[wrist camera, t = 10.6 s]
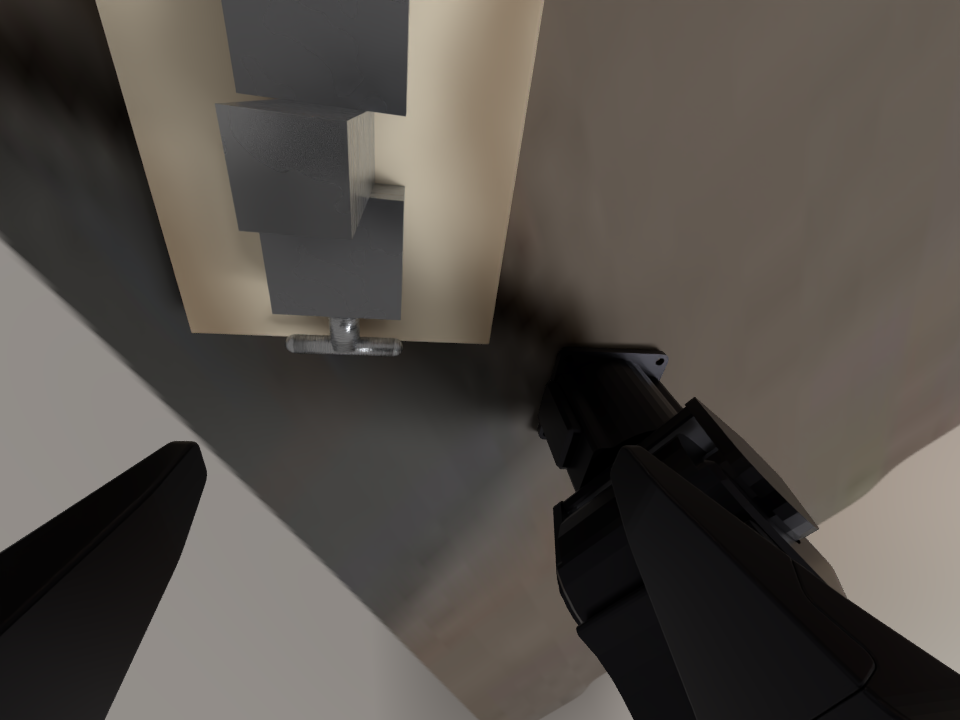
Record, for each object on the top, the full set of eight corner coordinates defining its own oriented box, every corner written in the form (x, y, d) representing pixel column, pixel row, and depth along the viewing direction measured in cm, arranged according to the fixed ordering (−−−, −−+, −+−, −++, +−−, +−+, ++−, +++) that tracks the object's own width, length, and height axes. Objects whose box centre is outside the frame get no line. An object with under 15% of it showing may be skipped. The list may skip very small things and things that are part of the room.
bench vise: (415, -63, 12) (416, -211, 6) (403, 341, 19) (398, 450, 13) (233, -103, 11) (32, -321, 5) (293, 336, 18) (238, 451, 12)
